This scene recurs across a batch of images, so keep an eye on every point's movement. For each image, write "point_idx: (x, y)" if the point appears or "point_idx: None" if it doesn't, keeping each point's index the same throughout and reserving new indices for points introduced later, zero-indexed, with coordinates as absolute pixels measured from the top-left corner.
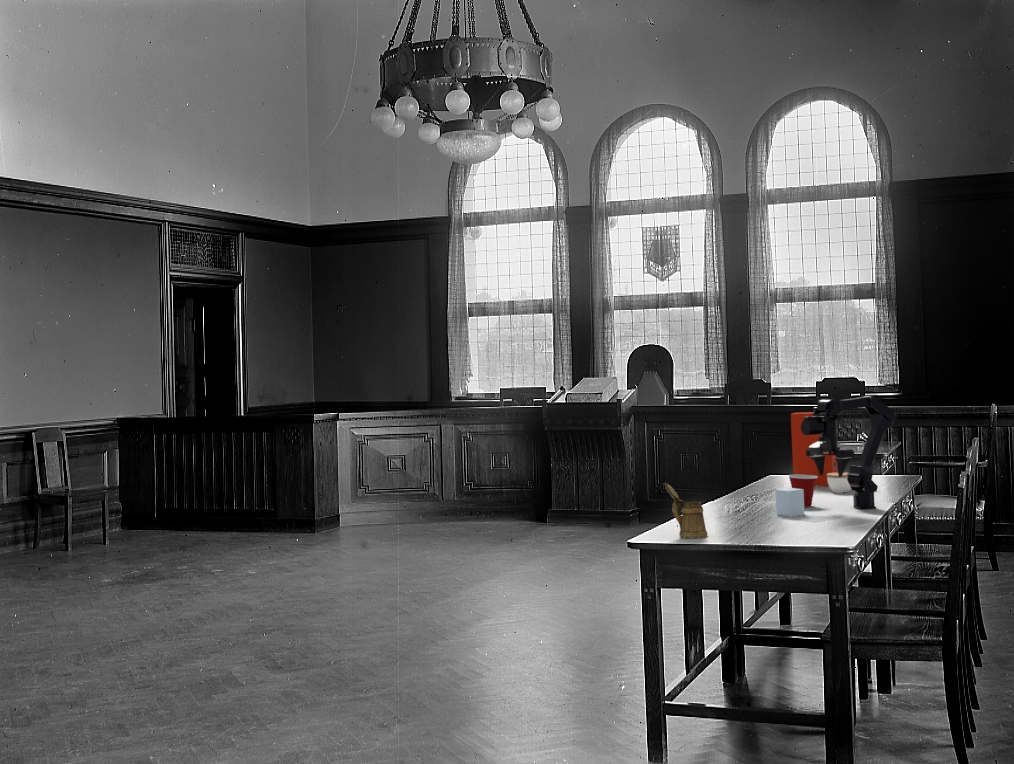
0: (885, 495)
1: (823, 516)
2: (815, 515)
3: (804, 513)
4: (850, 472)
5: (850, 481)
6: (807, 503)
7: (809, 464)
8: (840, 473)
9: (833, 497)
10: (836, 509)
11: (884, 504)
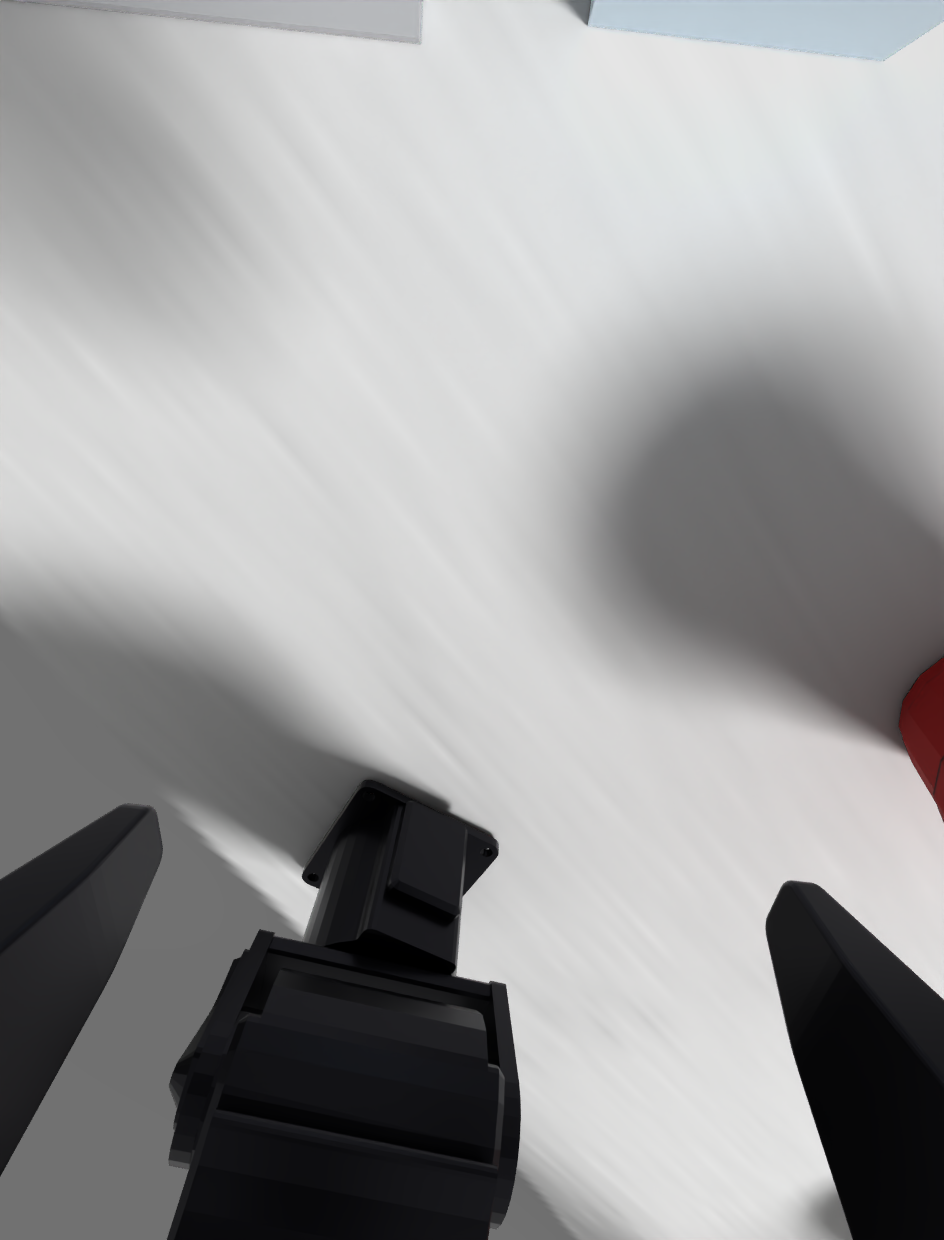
0: (644, 1226)
1: (214, 1)
2: (376, 19)
3: (590, 11)
4: (437, 1230)
5: (432, 1047)
6: (934, 695)
7: None
8: (38, 876)
9: None
10: (552, 689)
11: None
